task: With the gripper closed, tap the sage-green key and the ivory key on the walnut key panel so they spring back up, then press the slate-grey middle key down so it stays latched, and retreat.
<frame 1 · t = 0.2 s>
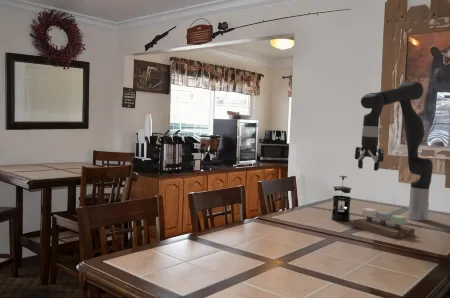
hand: (368, 169, 202), 29 cm above the table, tool pointing down, fingers open, 8 cm apart
ivory key: (369, 215, 207), point 6 cm above the table, slide at 0.0 cm
sage key: (398, 222, 193), point 6 cm above the table, slide at 0.0 cm
key panel: (382, 230, 200), on the table
french press: (341, 220, 219), on the table
grey key: (383, 218, 200), point 6 cm above the table, slide at 0.0 cm
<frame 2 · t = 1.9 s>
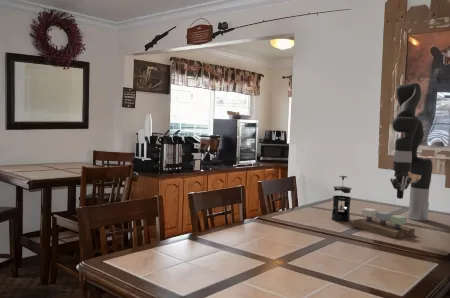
hand: (399, 198, 192), 17 cm above the table, tool pointing down, fingers closed
nothing on the table moved.
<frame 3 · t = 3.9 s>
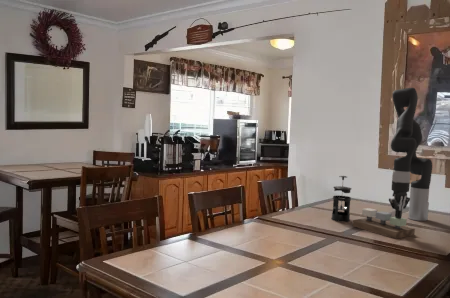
hand: (398, 218, 193), 8 cm above the table, tool pointing down, fingers closed
sage key: (397, 224, 193), point 5 cm above the table, slide at 0.8 cm, touching gripper
everything else where it was.
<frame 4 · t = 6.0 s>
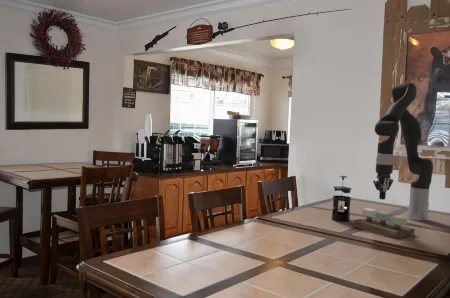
hand: (382, 199, 201), 15 cm above the table, tool pointing down, fingers closed
sage key: (398, 223, 193), point 5 cm above the table, slide at 0.3 cm
everything else where it was.
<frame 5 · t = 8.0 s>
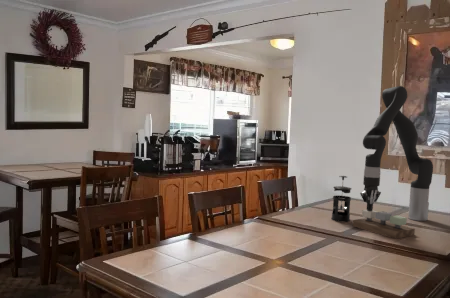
hand: (369, 210, 206), 8 cm above the table, tool pointing down, fingers closed
ivory key: (369, 216, 207), point 5 cm above the table, slide at 0.7 cm, touching gripper
everything else where it was.
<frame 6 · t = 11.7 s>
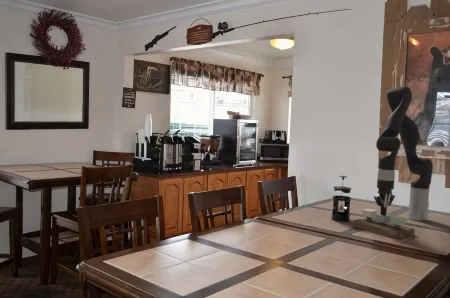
hand: (383, 214, 200), 7 cm above the table, tool pointing down, fingers closed
ivory key: (369, 215, 207), point 5 cm above the table, slide at 0.3 cm
grey key: (383, 220, 200), point 5 cm above the table, slide at 1.0 cm, touching gripper
everything else where it was.
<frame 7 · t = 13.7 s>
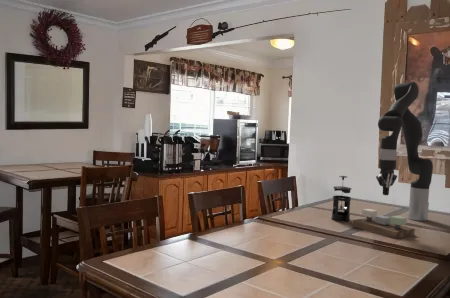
hand: (385, 195, 199), 17 cm above the table, tool pointing down, fingers closed
grey key: (383, 222, 200), point 4 cm above the table, slide at 1.9 cm
everything else where it was.
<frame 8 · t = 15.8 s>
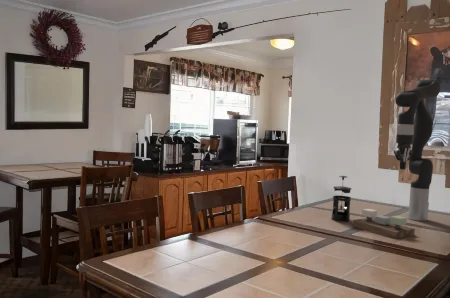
hand: (402, 169, 205), 29 cm above the table, tool pointing down, fingers closed
nothing on the table moved.
at the end: grey key slide at 1.9 cm; sage key slide at 0.3 cm; ivory key slide at 0.3 cm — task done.
